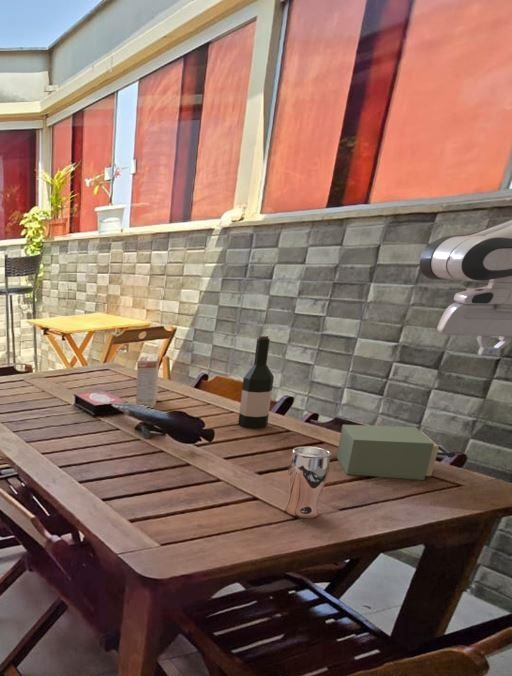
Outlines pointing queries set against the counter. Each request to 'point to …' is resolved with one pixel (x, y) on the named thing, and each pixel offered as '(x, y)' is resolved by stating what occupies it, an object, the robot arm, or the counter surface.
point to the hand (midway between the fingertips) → (487, 355)
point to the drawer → (435, 452)
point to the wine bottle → (257, 389)
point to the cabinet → (384, 451)
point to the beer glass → (306, 480)
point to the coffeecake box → (147, 379)
